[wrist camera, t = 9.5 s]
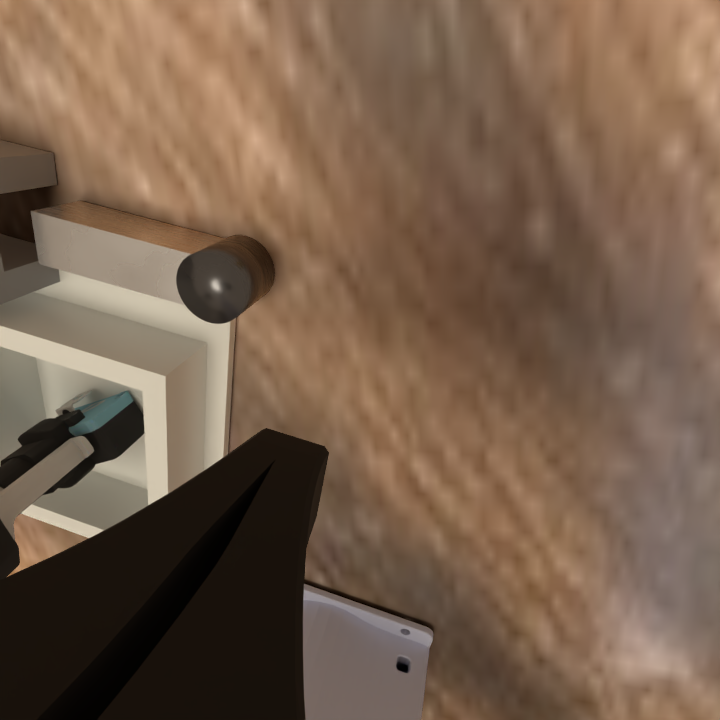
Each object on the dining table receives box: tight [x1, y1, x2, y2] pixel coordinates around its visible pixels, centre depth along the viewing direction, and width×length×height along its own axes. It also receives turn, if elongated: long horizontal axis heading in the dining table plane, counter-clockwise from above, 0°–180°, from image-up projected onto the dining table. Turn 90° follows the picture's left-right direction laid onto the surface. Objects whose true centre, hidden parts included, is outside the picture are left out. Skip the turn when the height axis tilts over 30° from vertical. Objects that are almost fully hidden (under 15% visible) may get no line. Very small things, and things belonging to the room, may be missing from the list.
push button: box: [0, 390, 145, 580], centre depth 20 cm, size 7×5×10 cm
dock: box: [0, 140, 236, 538], centre depth 21 cm, size 12×19×4 cm, turn 169°
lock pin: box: [31, 201, 275, 324], centre depth 18 cm, size 8×3×3 cm, turn 79°
